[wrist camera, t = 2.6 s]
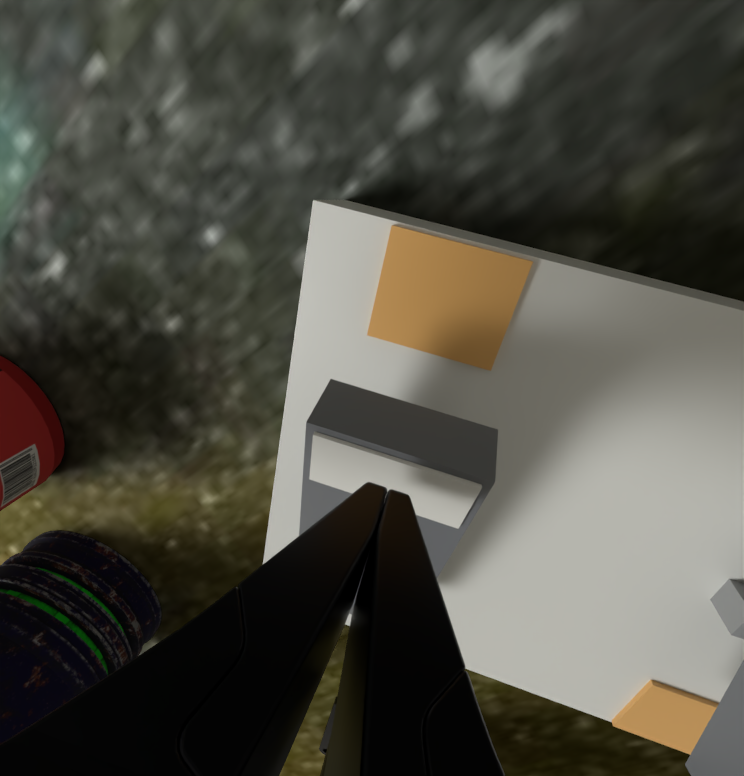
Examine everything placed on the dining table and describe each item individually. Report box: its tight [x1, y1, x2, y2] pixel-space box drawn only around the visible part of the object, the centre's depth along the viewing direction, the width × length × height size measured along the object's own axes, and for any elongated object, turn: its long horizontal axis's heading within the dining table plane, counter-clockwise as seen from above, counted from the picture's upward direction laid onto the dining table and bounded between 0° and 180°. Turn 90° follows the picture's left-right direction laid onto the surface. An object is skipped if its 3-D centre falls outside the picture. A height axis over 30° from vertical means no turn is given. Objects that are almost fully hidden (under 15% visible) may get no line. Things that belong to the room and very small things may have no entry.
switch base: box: [263, 200, 744, 755], centre depth 14 cm, size 16×20×4 cm
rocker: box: [299, 379, 498, 614], centre depth 12 cm, size 9×4×2 cm, turn 168°
